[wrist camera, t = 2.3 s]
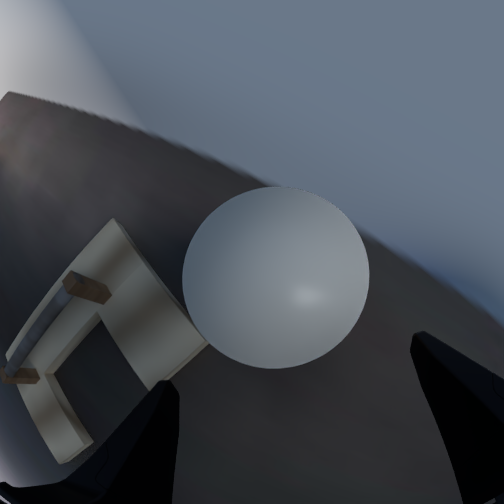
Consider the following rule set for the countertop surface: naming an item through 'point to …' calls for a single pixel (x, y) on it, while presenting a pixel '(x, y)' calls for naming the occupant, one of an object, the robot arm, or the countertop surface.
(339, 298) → the lidded paper cup
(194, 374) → the countertop surface
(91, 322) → the grey piece
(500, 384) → the robot arm
